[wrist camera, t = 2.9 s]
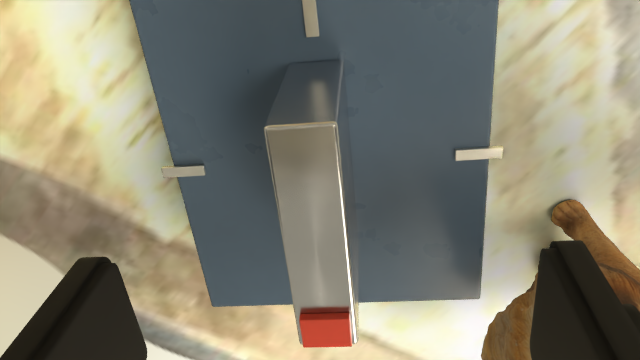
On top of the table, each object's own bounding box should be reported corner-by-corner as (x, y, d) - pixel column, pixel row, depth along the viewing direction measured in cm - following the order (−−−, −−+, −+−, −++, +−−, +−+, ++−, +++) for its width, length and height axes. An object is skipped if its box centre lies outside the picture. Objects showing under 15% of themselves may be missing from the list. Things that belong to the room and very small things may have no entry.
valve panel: (148, -39, 17) (106, -23, 14) (492, -75, 16) (520, -66, 13) (220, 258, 23) (201, 311, 20) (475, 248, 21) (491, 302, 19)
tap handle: (287, 63, 15) (260, 132, 11) (343, 58, 15) (337, 127, 11) (312, 246, 18) (298, 353, 14) (359, 244, 18) (358, 352, 14)
